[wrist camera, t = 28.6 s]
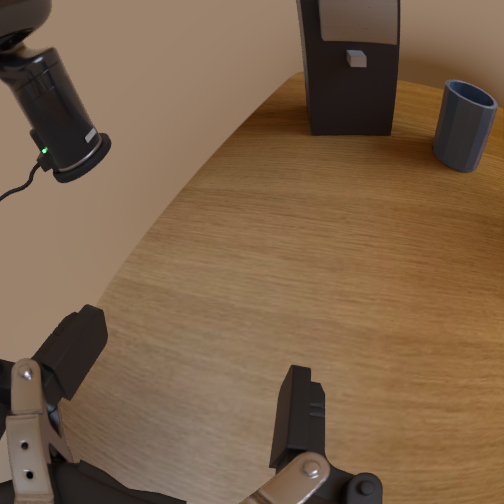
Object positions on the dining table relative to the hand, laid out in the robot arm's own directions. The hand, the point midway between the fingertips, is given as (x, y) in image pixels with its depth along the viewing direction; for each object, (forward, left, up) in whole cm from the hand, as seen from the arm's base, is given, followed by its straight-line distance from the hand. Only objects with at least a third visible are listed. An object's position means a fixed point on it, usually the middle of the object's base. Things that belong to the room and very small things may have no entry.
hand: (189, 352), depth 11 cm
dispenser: (+21, +26, -9) cm, 35 cm away
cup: (+31, +15, -9) cm, 36 cm away
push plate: (+19, +20, +4) cm, 28 cm away
